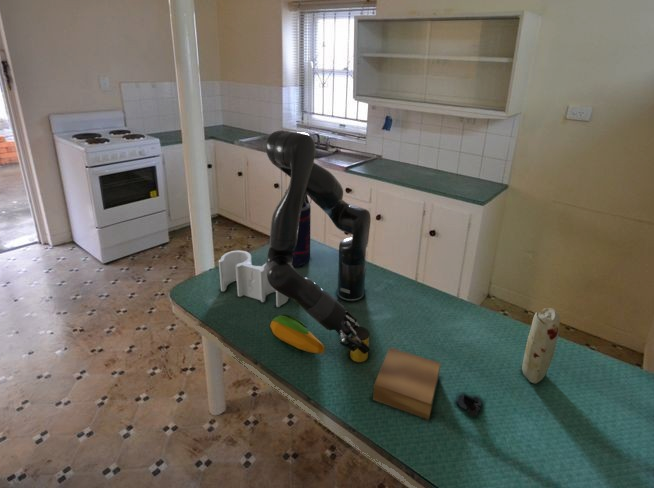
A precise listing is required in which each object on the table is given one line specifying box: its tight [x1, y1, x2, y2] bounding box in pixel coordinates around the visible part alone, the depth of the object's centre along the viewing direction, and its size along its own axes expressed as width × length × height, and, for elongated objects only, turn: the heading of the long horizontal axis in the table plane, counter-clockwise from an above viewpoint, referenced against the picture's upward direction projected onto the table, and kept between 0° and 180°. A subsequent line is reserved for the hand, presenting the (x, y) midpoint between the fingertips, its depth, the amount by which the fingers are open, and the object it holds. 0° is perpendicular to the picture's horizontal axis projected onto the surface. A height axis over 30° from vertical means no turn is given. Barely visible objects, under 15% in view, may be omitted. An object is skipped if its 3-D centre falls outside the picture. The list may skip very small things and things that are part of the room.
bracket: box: [218, 249, 289, 308], centre depth 140 cm, size 25×10×12 cm, turn 67°
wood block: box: [372, 346, 442, 420], centre depth 104 cm, size 14×14×5 cm
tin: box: [349, 326, 370, 363], centre depth 114 cm, size 5×5×8 cm
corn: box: [269, 314, 326, 354], centre depth 117 cm, size 7×8×20 cm
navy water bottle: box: [284, 189, 312, 268], centre depth 158 cm, size 14×12×30 cm
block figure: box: [456, 394, 482, 418], centre depth 100 cm, size 6×2×6 cm
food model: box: [521, 307, 561, 384], centre depth 107 cm, size 10×7×20 cm
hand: (366, 343), depth 114 cm, fingers closed on tin, 5 cm apart
